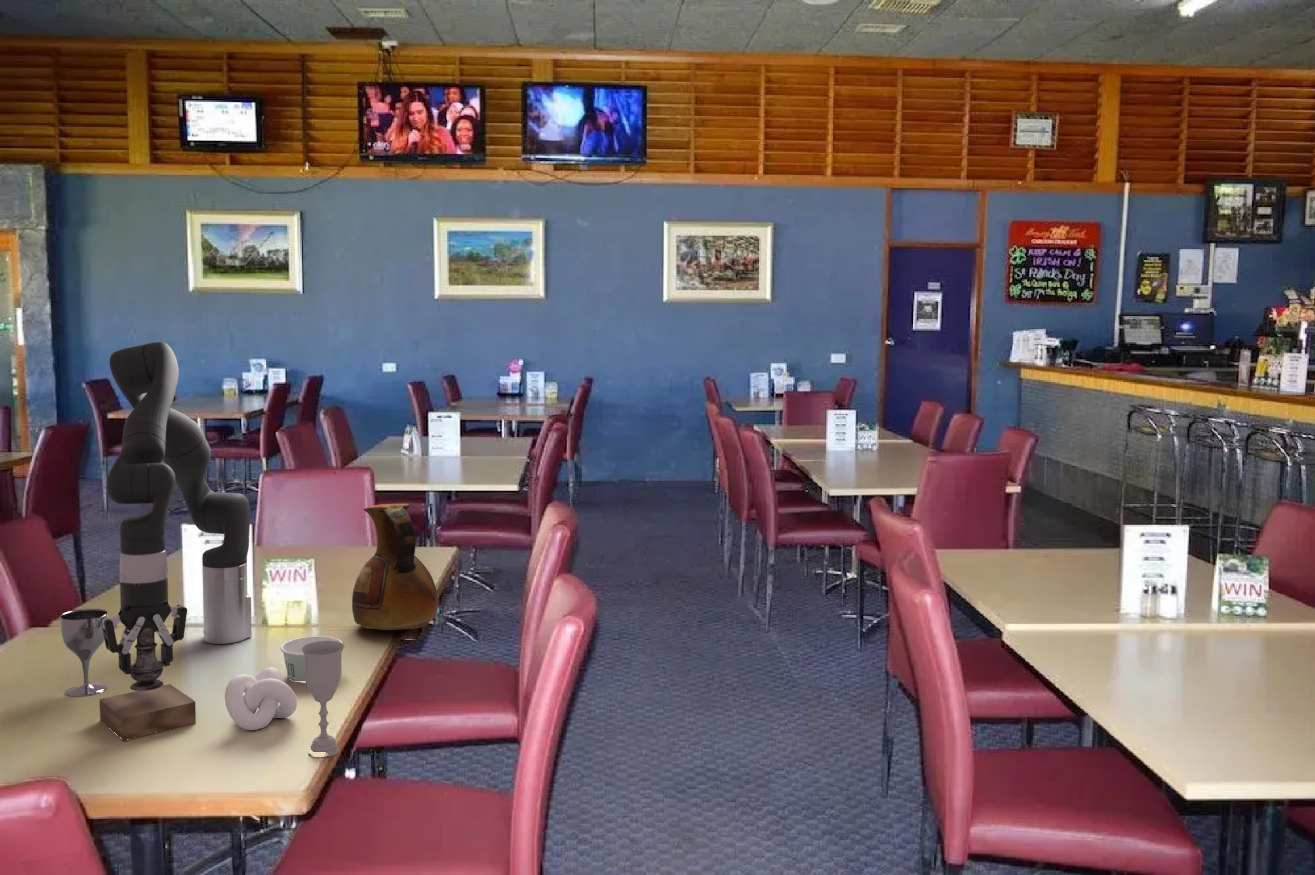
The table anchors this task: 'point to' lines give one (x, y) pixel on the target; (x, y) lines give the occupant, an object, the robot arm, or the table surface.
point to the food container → (299, 655)
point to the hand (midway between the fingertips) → (146, 668)
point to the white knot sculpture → (259, 699)
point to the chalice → (323, 685)
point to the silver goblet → (83, 643)
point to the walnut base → (147, 711)
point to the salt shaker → (146, 663)
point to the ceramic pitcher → (394, 576)
